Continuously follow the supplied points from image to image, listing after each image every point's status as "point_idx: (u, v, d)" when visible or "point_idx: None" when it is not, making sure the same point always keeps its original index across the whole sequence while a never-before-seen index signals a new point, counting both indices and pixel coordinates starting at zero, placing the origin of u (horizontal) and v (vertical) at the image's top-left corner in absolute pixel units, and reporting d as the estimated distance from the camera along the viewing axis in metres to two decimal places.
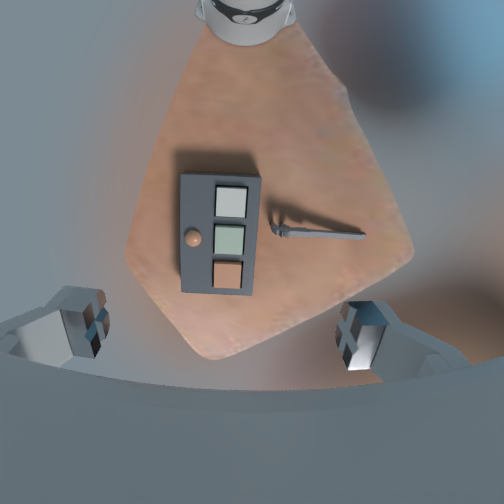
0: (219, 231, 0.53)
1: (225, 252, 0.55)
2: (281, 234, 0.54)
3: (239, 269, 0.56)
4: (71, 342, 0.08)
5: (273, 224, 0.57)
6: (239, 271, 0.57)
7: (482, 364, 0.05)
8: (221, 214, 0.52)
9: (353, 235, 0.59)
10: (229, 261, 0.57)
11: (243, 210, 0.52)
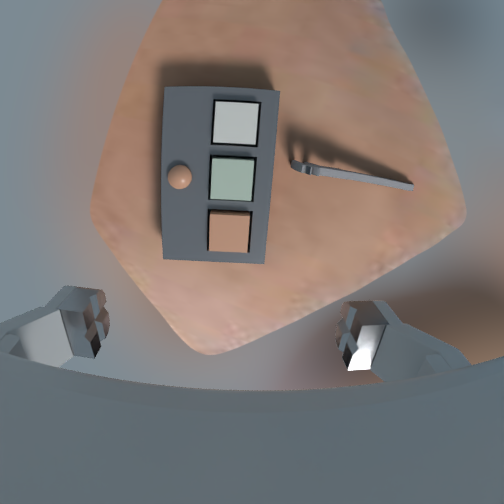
0: (218, 165, 0.35)
1: (226, 197, 0.37)
2: (309, 170, 0.35)
3: (246, 223, 0.38)
4: (71, 342, 0.08)
5: (295, 161, 0.39)
6: (246, 226, 0.38)
7: (482, 364, 0.05)
8: (221, 139, 0.34)
9: (400, 183, 0.40)
10: (232, 212, 0.39)
11: (253, 134, 0.34)
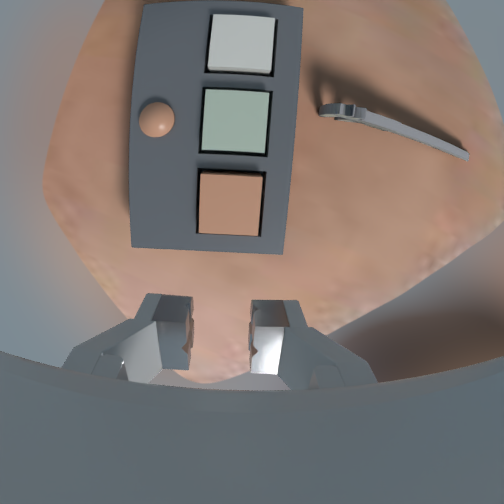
0: (214, 98, 0.21)
1: (226, 146, 0.23)
2: (351, 110, 0.22)
3: (257, 188, 0.24)
4: (163, 355, 0.08)
5: None
6: (257, 193, 0.24)
7: (482, 364, 0.05)
8: (220, 62, 0.20)
9: (457, 148, 0.27)
10: (235, 173, 0.25)
11: (268, 55, 0.20)
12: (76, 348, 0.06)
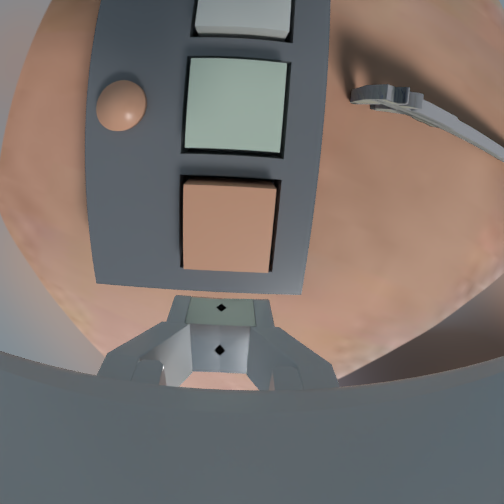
0: (204, 71, 0.13)
1: (222, 143, 0.15)
2: (404, 95, 0.14)
3: (269, 205, 0.16)
4: (194, 357, 0.08)
5: None
6: (269, 212, 0.17)
7: (482, 364, 0.05)
8: (213, 20, 0.12)
9: None
10: (235, 182, 0.17)
11: (285, 12, 0.12)
12: (110, 354, 0.06)
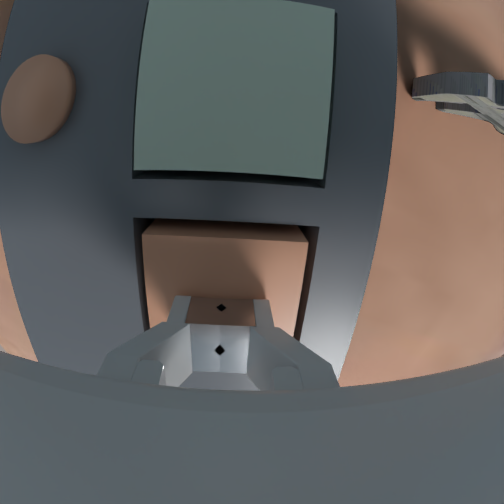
0: (172, 19, 0.06)
1: (207, 159, 0.07)
2: None
3: (294, 270, 0.09)
4: (195, 357, 0.08)
5: None
6: (293, 282, 0.09)
7: (482, 364, 0.05)
8: None
9: None
10: (234, 225, 0.10)
11: None
12: (110, 354, 0.06)
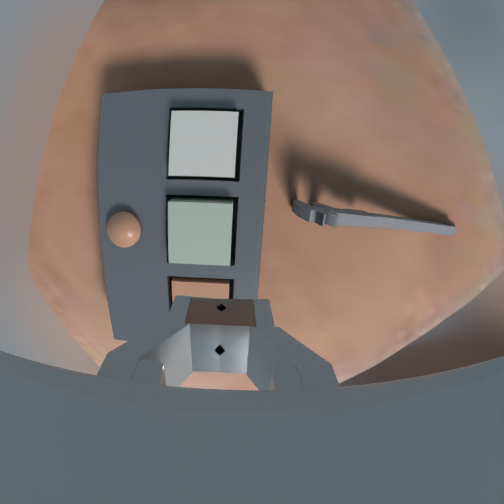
0: (177, 211, 0.23)
1: (192, 260, 0.24)
2: (321, 219, 0.23)
3: (225, 293, 0.26)
4: (195, 357, 0.08)
5: (299, 202, 0.26)
6: (225, 298, 0.26)
7: (482, 364, 0.05)
8: (181, 171, 0.22)
9: (441, 226, 0.28)
10: None
11: (231, 160, 0.22)
12: (110, 354, 0.06)
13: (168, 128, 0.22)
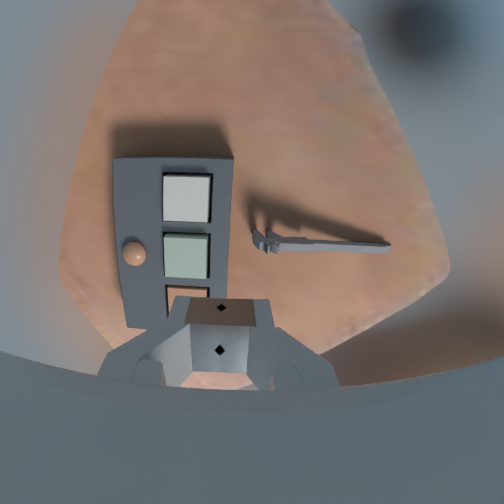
0: (170, 244, 0.34)
1: (181, 275, 0.36)
2: (266, 249, 0.34)
3: (204, 296, 0.38)
4: (195, 358, 0.08)
5: (256, 232, 0.38)
6: None
7: (482, 364, 0.05)
8: (171, 217, 0.33)
9: (374, 247, 0.39)
10: None
11: (205, 211, 0.33)
12: (110, 354, 0.06)
13: (162, 186, 0.33)
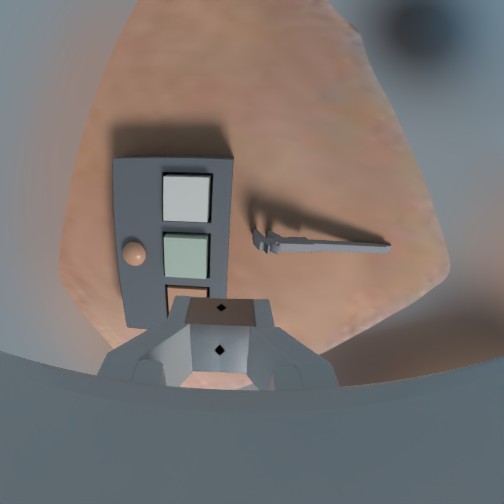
0: (170, 244, 0.34)
1: (181, 275, 0.36)
2: (266, 249, 0.34)
3: (204, 296, 0.38)
4: (195, 358, 0.08)
5: (256, 232, 0.38)
6: None
7: (482, 364, 0.05)
8: (171, 217, 0.33)
9: (374, 247, 0.39)
10: None
11: (205, 211, 0.33)
12: (110, 354, 0.06)
13: (162, 186, 0.33)
